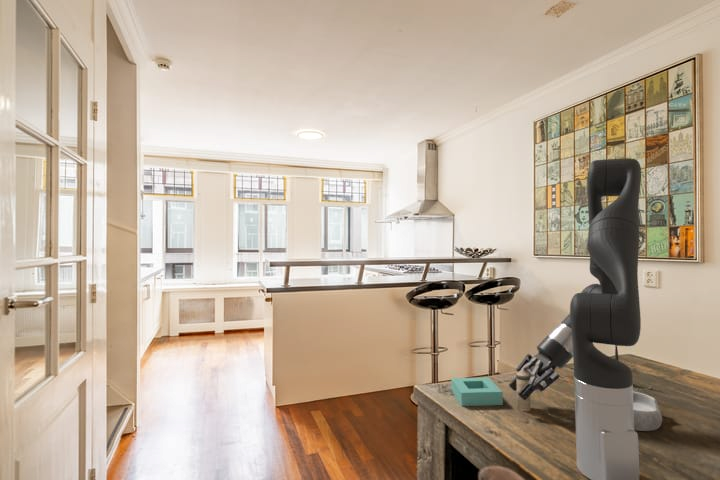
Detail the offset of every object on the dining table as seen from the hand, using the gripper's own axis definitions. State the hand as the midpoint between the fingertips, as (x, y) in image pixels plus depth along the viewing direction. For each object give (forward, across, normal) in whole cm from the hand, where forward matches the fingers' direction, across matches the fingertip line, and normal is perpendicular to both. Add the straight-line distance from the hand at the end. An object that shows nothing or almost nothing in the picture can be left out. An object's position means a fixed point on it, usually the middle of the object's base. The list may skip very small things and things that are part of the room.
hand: (516, 392), depth 98 cm
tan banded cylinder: (+2, 0, +4) cm, 5 cm away
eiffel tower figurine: (-23, -16, +30) cm, 41 cm away
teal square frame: (+9, -8, -3) cm, 12 cm away
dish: (-14, +7, +20) cm, 25 cm away
